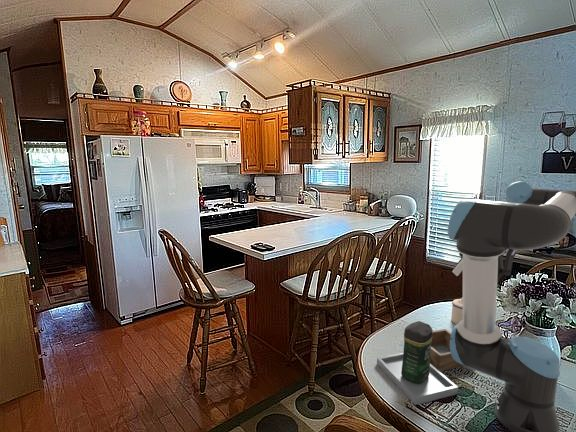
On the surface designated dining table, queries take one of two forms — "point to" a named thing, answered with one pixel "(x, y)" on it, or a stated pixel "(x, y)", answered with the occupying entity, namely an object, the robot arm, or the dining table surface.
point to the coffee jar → (416, 352)
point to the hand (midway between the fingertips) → (469, 280)
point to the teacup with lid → (457, 310)
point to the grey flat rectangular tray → (417, 393)
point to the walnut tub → (444, 359)
